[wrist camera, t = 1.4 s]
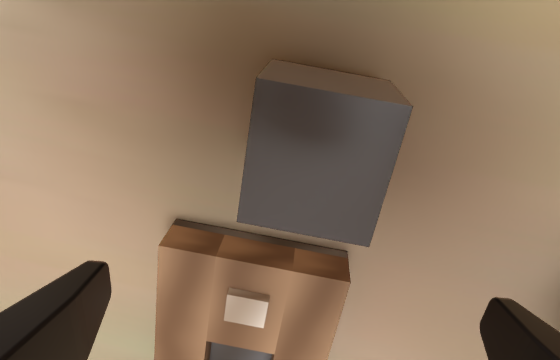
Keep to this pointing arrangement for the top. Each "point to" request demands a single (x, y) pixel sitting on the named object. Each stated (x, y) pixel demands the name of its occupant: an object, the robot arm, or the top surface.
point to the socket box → (246, 296)
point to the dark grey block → (320, 151)
